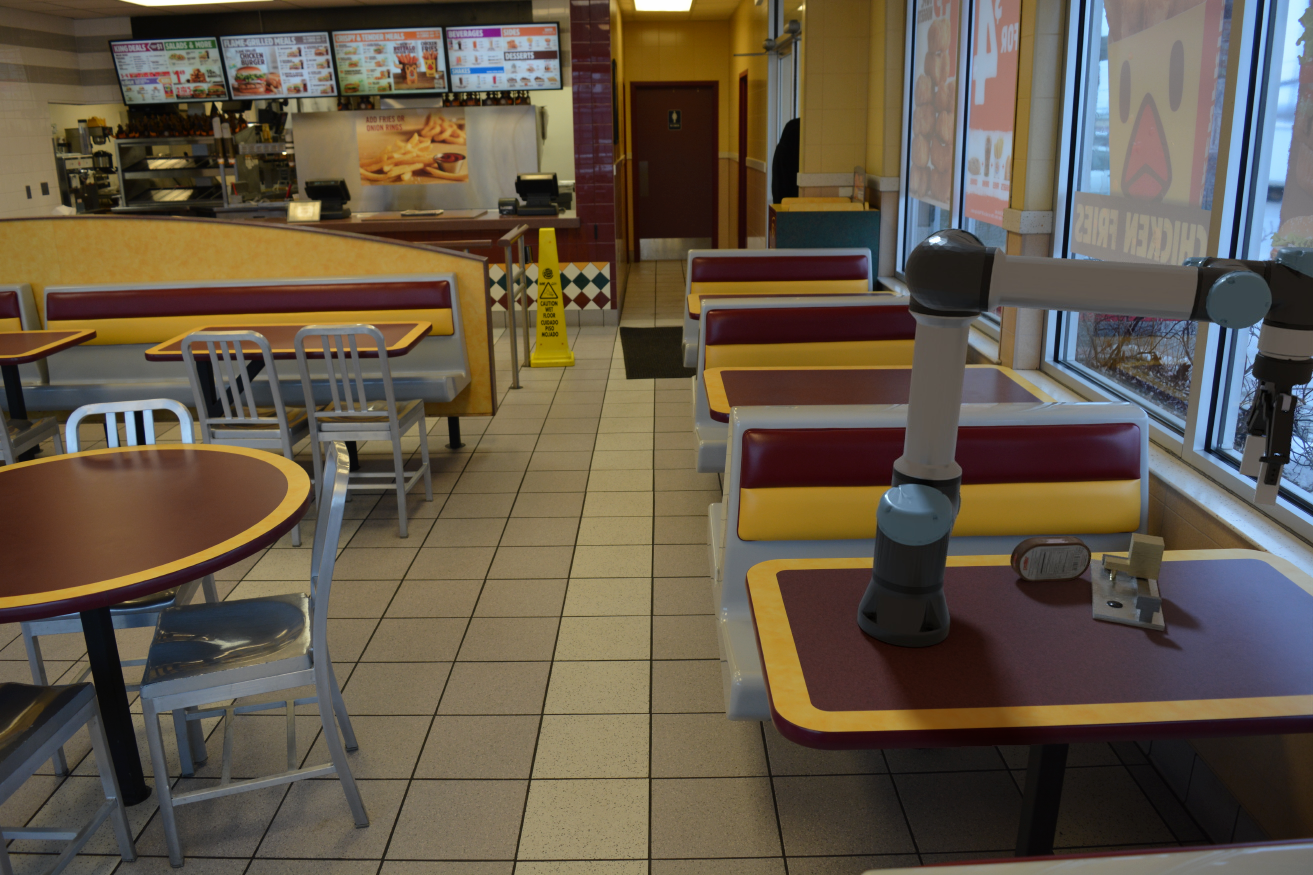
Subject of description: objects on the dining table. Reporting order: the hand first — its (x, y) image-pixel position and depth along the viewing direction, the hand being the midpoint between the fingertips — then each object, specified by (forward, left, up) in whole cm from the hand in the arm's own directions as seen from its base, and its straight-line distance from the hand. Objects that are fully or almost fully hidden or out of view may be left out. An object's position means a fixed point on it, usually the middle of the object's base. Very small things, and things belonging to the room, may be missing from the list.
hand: (1256, 488), depth 148 cm
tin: (-27, +16, -28) cm, 42 cm away
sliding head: (-13, +18, -27) cm, 35 cm away
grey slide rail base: (-13, +15, -27) cm, 34 cm away
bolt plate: (-14, +15, -28) cm, 34 cm away
